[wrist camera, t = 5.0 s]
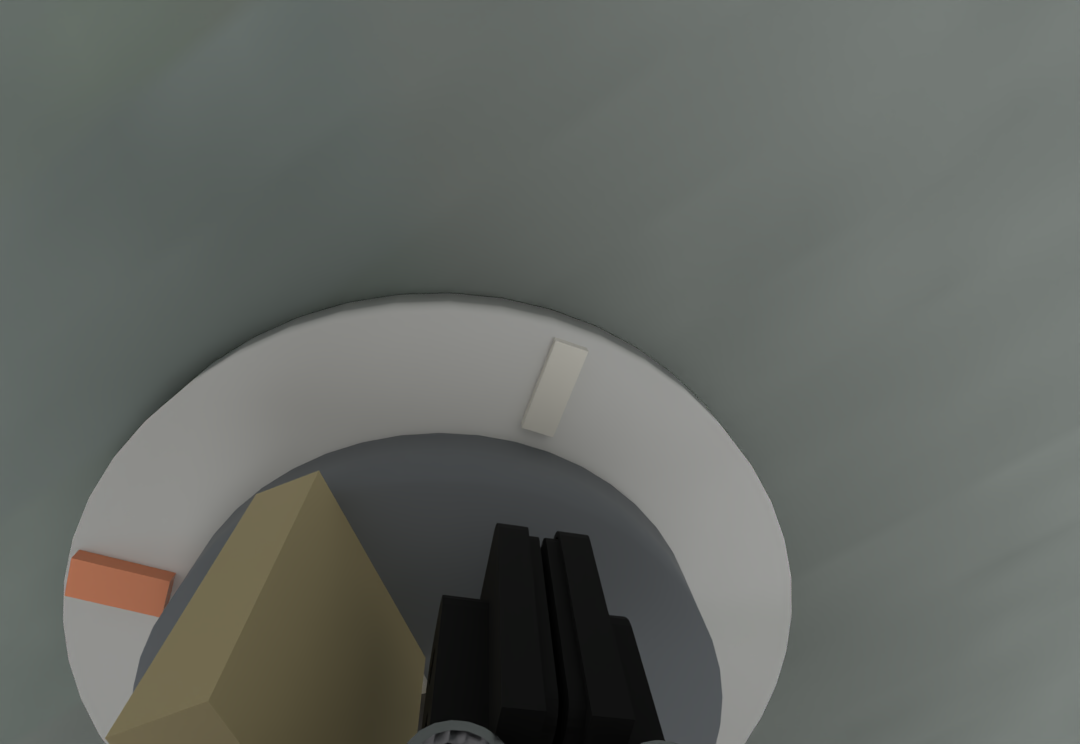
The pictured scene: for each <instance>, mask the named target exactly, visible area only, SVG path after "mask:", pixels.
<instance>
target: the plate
mask: <svg viewBox="0 0 1080 744" xmlns="http://www.w3.org/2000/svg"><path fill="white" fill-rule="evenodd" d="M430 433H450V434H468V435H480V436H486V437H491V438H497V439H503V440H509V441H514V442H518V443H521V444H524V445H528V446H531V447H534V448H537V449H541V450H544V451H547V452H550V453H553V454H555V455H557V456H559V457H562V458H564V459H566V460H568V461H570V462H573V463H575V464H577V465H579V466H582V467H583V468H585V469H587V470H588V471H590V472H592V473H593V474H595V475H596V476H598V477H600V478H601V479H603V480H605V481H606V482H608V483H609V484H611V485H612V486H614V487H615V488H616V489H617V490H618V491H620V492H621V493H622V494H623V495H624V496H626V497H627V498H628V499H629V500H631V501H632V502H633V503H634V504H635V505H636V506H637V507H638V508H639V509H640V510H641V511H642V512H643V513H644V514H645V515H646V517H647V518H648V519H649V520H650V521H651V522H652V523H653V524H654V525H655V526H656V528H657V529H658V530H659V532H660V533H661V535H662V536H663V538H664V539H665V541H666V542H667V544H668V545H669V547H670V548H671V550H672V551H673V553H674V555H675V558H676V560H677V562H678V564H679V566H680V568H681V571H682V573H683V575H684V577H685V579H686V582H687V584H688V586H689V588H690V591H691V593H692V595H693V598H694V600H695V602H696V604H697V607H698V609H699V611H700V613H701V616H702V618H703V620H704V622H705V625H706V627H707V629H708V631H709V634H710V636H711V638H712V641H713V644H714V648H715V652H716V656H717V659H718V663H719V667H720V675H721V686H722V697H723V698H722V711H721V724H720V729H719V733H718V737H717V741H716V744H745V742H746V741H747V739H748V737H749V736H750V734H751V733H752V731H753V730H754V728H755V726H756V725H757V723H758V722H759V720H760V719H761V717H762V715H763V712H764V710H765V708H766V706H767V704H768V702H769V699H770V697H771V695H772V693H773V691H774V689H775V687H776V684H777V681H778V677H779V674H780V671H781V667H782V664H783V661H784V657H785V654H786V651H787V644H788V637H789V630H790V623H791V616H792V599H791V573H790V568H789V562H788V556H787V551H786V545H785V539H784V537H783V534H782V531H781V528H780V525H779V522H778V519H777V516H776V514H775V511H774V508H773V505H772V502H771V500H770V498H769V497H768V495H767V493H766V491H765V489H764V487H763V486H762V484H761V482H760V480H759V478H758V476H757V474H756V473H755V471H754V469H753V467H752V465H751V464H750V463H749V461H748V460H747V459H746V457H745V456H744V455H743V454H742V452H741V451H740V450H739V448H738V447H737V446H736V444H735V443H734V442H733V440H732V439H731V438H730V437H729V435H728V434H727V433H726V431H725V430H724V429H723V427H722V426H721V425H720V424H719V422H718V421H717V420H716V419H715V417H714V416H713V415H712V413H711V412H710V411H709V410H708V408H707V407H706V406H705V405H704V403H702V402H701V401H700V400H699V399H698V398H697V397H696V396H695V395H694V394H693V393H692V392H691V391H690V390H689V389H688V388H687V387H686V386H685V385H684V384H683V383H682V382H681V381H680V380H679V379H678V378H677V377H676V376H675V375H674V374H672V373H671V372H669V371H668V370H667V369H665V368H664V367H663V366H661V365H660V364H658V363H657V362H656V361H654V360H653V359H652V358H650V357H649V356H647V355H646V354H645V353H643V352H642V351H640V350H639V349H638V348H636V347H634V346H632V345H630V344H629V343H627V342H625V341H623V340H621V339H619V338H617V337H615V336H613V335H612V334H610V333H608V332H606V331H604V330H602V329H600V328H598V327H597V326H594V325H591V324H589V323H586V322H583V321H581V320H578V319H575V318H573V317H570V316H567V315H564V314H562V313H559V312H556V311H554V310H551V309H547V308H543V307H538V306H534V305H530V304H525V303H521V302H516V301H512V300H508V299H503V298H496V297H485V296H475V295H465V294H455V293H436V294H403V295H393V296H387V297H381V298H374V299H368V300H362V301H355V302H349V303H345V304H342V305H338V306H335V307H332V308H328V309H325V310H321V311H318V312H315V313H311V314H308V315H305V316H301V317H298V318H296V319H294V320H291V321H289V322H287V323H285V324H282V325H280V326H278V327H276V328H274V329H271V330H269V331H267V332H265V333H262V334H260V335H258V336H256V337H253V338H252V339H250V340H249V341H247V342H245V343H244V344H242V345H241V346H239V347H237V348H236V349H234V350H233V351H231V352H229V353H228V354H226V355H225V356H223V357H222V358H220V359H218V360H217V361H215V362H214V363H212V364H211V365H210V366H208V367H207V368H206V369H205V370H204V371H203V372H201V373H200V374H199V375H198V376H197V377H196V378H194V379H193V380H192V381H191V382H190V383H189V384H187V385H186V386H185V387H184V388H183V389H182V390H180V391H179V392H178V393H177V394H176V395H175V396H173V397H172V398H171V399H170V400H169V401H168V402H166V403H165V404H164V405H163V406H162V407H161V408H160V409H158V410H157V411H156V412H155V413H154V414H153V415H152V416H150V417H149V418H148V419H147V420H146V421H145V422H144V423H143V424H142V425H141V426H140V428H139V429H138V430H137V431H136V432H135V433H134V434H133V436H132V437H131V438H130V439H129V440H128V441H127V443H126V444H125V445H124V446H123V447H122V448H121V450H120V451H119V452H118V453H117V454H116V455H115V457H114V458H113V459H112V461H111V462H110V464H109V466H108V467H107V469H106V471H105V472H104V474H103V476H102V477H101V479H100V480H99V482H98V484H97V485H96V487H95V489H94V490H93V492H92V494H91V495H90V497H89V499H88V501H87V504H86V507H85V509H84V512H83V514H82V517H81V519H80V522H79V524H78V527H77V529H76V532H75V534H74V537H73V540H72V545H71V549H70V554H69V559H68V564H67V569H66V574H65V578H64V603H63V625H64V632H65V638H66V645H67V652H68V659H69V663H70V666H71V669H72V672H73V676H74V679H75V682H76V685H77V688H78V691H79V694H80V697H81V700H82V702H83V704H84V706H85V708H86V710H87V712H88V714H89V716H90V718H91V720H92V722H93V724H94V726H95V728H96V730H97V731H98V733H99V735H100V736H101V738H102V739H103V741H104V742H105V743H106V744H109V743H108V742H107V740H106V739H105V737H106V736H107V734H108V732H109V731H110V729H111V727H112V726H113V724H114V723H115V721H116V719H117V718H118V716H119V715H120V713H121V711H122V710H123V708H124V706H125V705H126V703H127V702H128V700H129V698H130V697H131V695H132V694H133V686H134V682H135V677H136V673H137V669H138V664H139V660H140V656H141V654H142V652H143V649H144V647H145V645H146V642H147V640H148V638H149V635H150V633H151V631H152V628H153V626H154V625H155V623H156V621H157V620H158V618H159V617H160V615H161V614H162V612H163V611H164V609H165V608H166V606H167V604H168V603H169V601H170V600H171V598H172V597H173V595H174V594H175V592H176V591H177V589H178V588H179V586H180V585H181V583H182V582H183V580H184V579H185V577H186V576H187V574H188V572H189V571H190V569H191V568H192V566H193V565H194V563H195V562H196V560H197V559H198V557H199V556H200V554H201V553H202V551H203V550H204V548H205V547H206V545H207V544H208V542H209V541H210V539H211V538H212V536H213V535H214V534H215V533H216V531H217V530H218V529H219V528H220V527H221V526H222V525H223V524H224V522H225V521H226V520H227V519H228V518H229V517H230V516H231V515H232V513H233V512H234V511H235V510H236V509H237V508H239V507H240V506H241V505H242V504H243V503H245V502H246V501H247V500H248V499H249V498H251V497H252V496H253V495H254V494H255V493H257V492H258V491H259V490H260V489H261V488H263V487H264V486H266V485H268V484H269V483H271V482H272V481H274V480H276V479H277V478H279V477H280V476H282V475H284V474H285V473H287V472H288V471H290V470H292V469H294V468H296V467H298V466H300V465H302V464H304V463H307V462H309V461H311V460H313V459H315V458H318V457H320V456H322V455H324V454H327V453H330V452H333V451H336V450H339V449H343V448H346V447H349V446H352V445H355V444H359V443H362V442H367V441H372V440H378V439H383V438H389V437H394V436H400V435H414V434H430Z"/></svg>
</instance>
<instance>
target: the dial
mask: <svg viewBox="0 0 1080 744" xmlns="http://www.w3.org/2000/svg"><path fill="white" fill-rule="evenodd" d="M497 523H502V524H510V525H517V526H524V527H528V529H529V536H535V537H539V540H540V548H541V545H542V541H543V539H544V538H552V539H554V536H555V533H556V532H557V531H562V532H569V533H577V534H584V535H588V536H589V538H590V541H591V545H592V549H593V553H594V557H595V561H596V565H597V569H598V573H599V577H600V581H601V585H602V589H603V593H604V597H605V601H606V605H607V609H608V613H609V615H615V616H623V617H626V618H628V619H629V621H630V624H631V626H632V629H633V633H634V636H635V639H636V643H637V646H638V650H639V653H640V657H641V660H642V663H643V667H644V670H645V674H646V677H647V680H648V684H649V687H650V691H651V694H652V698H653V701H654V704H655V708H656V711H657V715H658V718H659V722H660V725H661V728H662V732H663V735H664V739H665V741H671V742H675V743H677V744H716V741H717V737H718V733H719V729H720V724H721V711H722V698H723V697H722V686H721V675H720V667H719V663H718V659H717V656H716V652H715V648H714V644H713V641H712V638H711V636H710V634H709V631H708V629H707V627H706V625H705V622H704V620H703V618H702V616H701V613H700V611H699V609H698V607H697V604H696V602H695V600H694V598H693V595H692V593H691V591H690V588H689V586H688V584H687V582H686V579H685V577H684V575H683V573H682V571H681V568H680V566H679V564H678V562H677V560H676V558H675V555H674V553H673V551H672V550H671V548H670V547H669V545H668V544H667V542H666V541H665V539H664V538H663V536H662V535H661V533H660V532H659V530H658V529H657V528H656V526H655V525H654V524H653V523H652V522H651V521H650V520H649V519H648V518H647V517H646V515H645V514H644V513H643V512H642V511H641V510H640V509H639V508H638V507H637V506H636V505H635V504H634V503H633V502H632V501H631V500H629V499H628V498H627V497H626V496H624V495H623V494H622V493H621V492H620V491H618V490H617V489H616V488H615V487H614V486H612V485H611V484H609V483H608V482H606V481H605V480H603V479H601V478H600V477H598V476H596V475H595V474H593V473H592V472H590V471H588V470H587V469H585V468H583V467H582V466H579V465H577V464H575V463H573V462H570V461H568V460H566V459H564V458H562V457H559V456H557V455H555V454H553V453H550V452H547V451H544V450H541V449H537V448H534V447H531V446H528V445H524V444H521V443H518V442H514V441H509V440H503V439H497V438H491V437H486V436H480V435H468V434H450V433H430V434H414V435H400V436H394V437H389V438H383V439H378V440H372V441H367V442H362V443H359V444H355V445H352V446H349V447H346V448H343V449H339V450H336V451H333V452H330V453H327V454H324V455H322V456H320V457H318V458H315V459H313V460H311V461H309V462H307V463H304V464H302V465H300V466H298V467H296V468H294V469H292V470H290V471H288V472H287V473H285V474H284V475H282V476H280V477H279V478H277V479H276V480H274V481H272V482H271V483H269V484H268V485H266V486H264V487H263V488H261V489H260V490H259V491H258V492H257V493H255V494H254V495H253V496H252V497H251V498H249V499H248V500H247V501H246V502H245V503H243V504H242V505H241V506H240V507H239V508H237V509H236V510H235V511H234V512H233V513H232V515H231V516H230V517H229V518H228V519H227V520H226V521H225V522H224V524H223V525H222V526H221V527H220V528H219V529H218V530H217V531H216V533H215V534H214V535H213V536H212V538H211V539H210V541H209V542H208V544H207V545H206V547H205V548H204V550H203V551H202V553H201V554H200V556H199V557H198V559H197V560H196V562H195V563H194V565H193V566H192V568H191V569H190V571H189V572H188V574H187V576H186V577H185V579H184V580H183V582H182V583H181V585H180V586H179V588H178V589H177V591H176V592H175V594H174V595H173V597H172V598H171V600H170V601H169V603H168V604H167V606H166V608H165V609H164V611H163V612H162V614H161V615H160V617H159V618H158V620H157V621H156V623H155V625H154V626H153V628H152V631H151V633H150V635H149V638H148V640H147V642H146V645H145V647H144V649H143V652H142V654H141V656H140V660H139V664H138V669H137V673H136V677H135V682H134V686H133V694H132V695H131V697H130V698H129V700H128V702H127V703H126V705H125V706H124V708H123V710H122V711H121V713H120V715H119V716H118V718H117V719H116V721H115V723H114V724H113V726H112V727H111V729H110V731H109V732H108V734H107V736H106V737H105V739H106V740H107V742H108V743H109V744H407V742H408V741H409V740H410V739H411V738H412V737H413V736H414V735H415V734H416V733H418V732H419V731H420V730H421V729H422V722H423V713H424V704H425V696H426V687H427V679H428V672H429V665H430V658H431V652H432V646H433V640H434V634H435V629H436V623H437V618H438V613H439V607H440V602H441V598H442V595H449V596H457V597H466V598H474V599H480V596H481V592H482V587H483V582H484V577H485V572H486V568H487V563H488V558H489V553H490V548H491V544H492V539H493V534H494V530H495V526H496V524H497Z"/></svg>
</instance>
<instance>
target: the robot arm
mask: <svg viewBox="0 0 1080 744" xmlns="http://www.w3.org/2000/svg"><path fill="white" fill-rule="evenodd" d="M407 744H677V743H675V742H671V741H665V739H664V735H663V732H662V728H661V725H660V722H659V718H658V715H657V711H656V708H655V704H654V701H653V698H652V694H651V691H650V687H649V684H648V680H647V677H646V674H645V670H644V667H643V663H642V660H641V657H640V653H639V650H638V646H637V643H636V639H635V636H634V633H633V629H632V626H631V624H630V621H629V619H628V618H626V617H623V616H615V615H609V613H608V609H607V605H606V601H605V597H604V593H603V589H602V585H601V581H600V577H599V573H598V569H597V565H596V561H595V557H594V553H593V549H592V545H591V541H590V538H589V536H588V535H584V534H577V533H569V532H562V531H557V532H556V533H555V536H554V539H552V538H544V539H543V541H542V545H541V548H540V540H539V537H535V536H529V529H528V527H524V526H517V525H510V524H502V523H497V524H496V526H495V530H494V534H493V539H492V544H491V548H490V553H489V558H488V563H487V568H486V572H485V577H484V582H483V587H482V592H481V596H480V599H474V598H466V597H457V596H449V595H442V598H441V602H440V607H439V613H438V618H437V623H436V629H435V634H434V640H433V646H432V652H431V658H430V665H429V672H428V679H427V687H426V696H425V704H424V713H423V722H422V729H421V730H420V731H419V732H418V733H416V734H415V735H414V736H413V737H412V738H411V739H410V740H409V741H408V742H407Z"/></svg>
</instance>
